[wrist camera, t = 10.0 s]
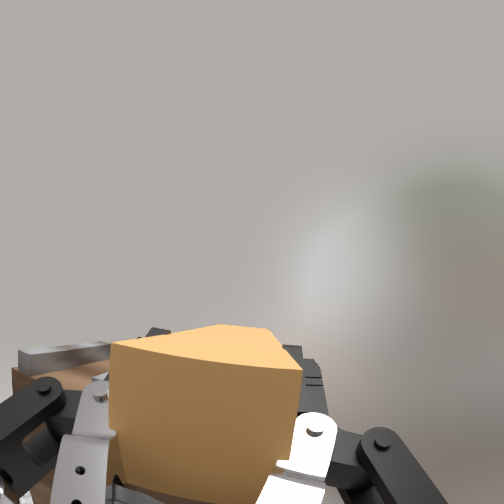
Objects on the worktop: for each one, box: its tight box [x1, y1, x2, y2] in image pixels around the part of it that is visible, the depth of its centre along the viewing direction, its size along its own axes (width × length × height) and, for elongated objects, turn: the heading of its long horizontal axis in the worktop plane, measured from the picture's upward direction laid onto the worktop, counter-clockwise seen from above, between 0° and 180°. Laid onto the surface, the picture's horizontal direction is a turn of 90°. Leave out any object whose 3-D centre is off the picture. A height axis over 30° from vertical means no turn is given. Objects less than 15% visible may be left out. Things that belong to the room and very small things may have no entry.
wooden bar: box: [108, 324, 303, 504], centre depth 17 cm, size 22×4×4 cm, turn 179°
